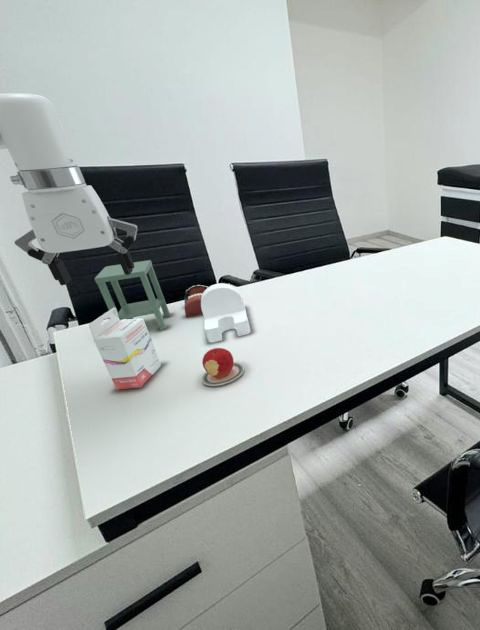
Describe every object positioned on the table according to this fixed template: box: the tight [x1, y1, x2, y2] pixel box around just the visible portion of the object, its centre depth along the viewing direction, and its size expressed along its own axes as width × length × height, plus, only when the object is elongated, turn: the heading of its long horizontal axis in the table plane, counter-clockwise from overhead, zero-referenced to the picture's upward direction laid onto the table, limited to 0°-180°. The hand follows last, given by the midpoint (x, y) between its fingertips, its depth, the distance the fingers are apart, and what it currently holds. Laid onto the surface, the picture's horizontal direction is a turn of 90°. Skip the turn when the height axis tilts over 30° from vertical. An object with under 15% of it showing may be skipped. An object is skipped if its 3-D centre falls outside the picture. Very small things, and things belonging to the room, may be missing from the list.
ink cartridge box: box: [88, 306, 162, 391], centre depth 78 cm, size 9×5×15 cm, turn 6°
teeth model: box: [183, 284, 209, 318], centre depth 110 cm, size 8×6×12 cm
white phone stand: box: [201, 282, 252, 344], centre depth 99 cm, size 10×18×11 cm, turn 27°
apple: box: [201, 347, 245, 387], centre depth 78 cm, size 8×8×6 cm
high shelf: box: [94, 259, 171, 331], centre depth 99 cm, size 10×10×16 cm
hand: (98, 277), depth 71 cm, fingers open, 9 cm apart
